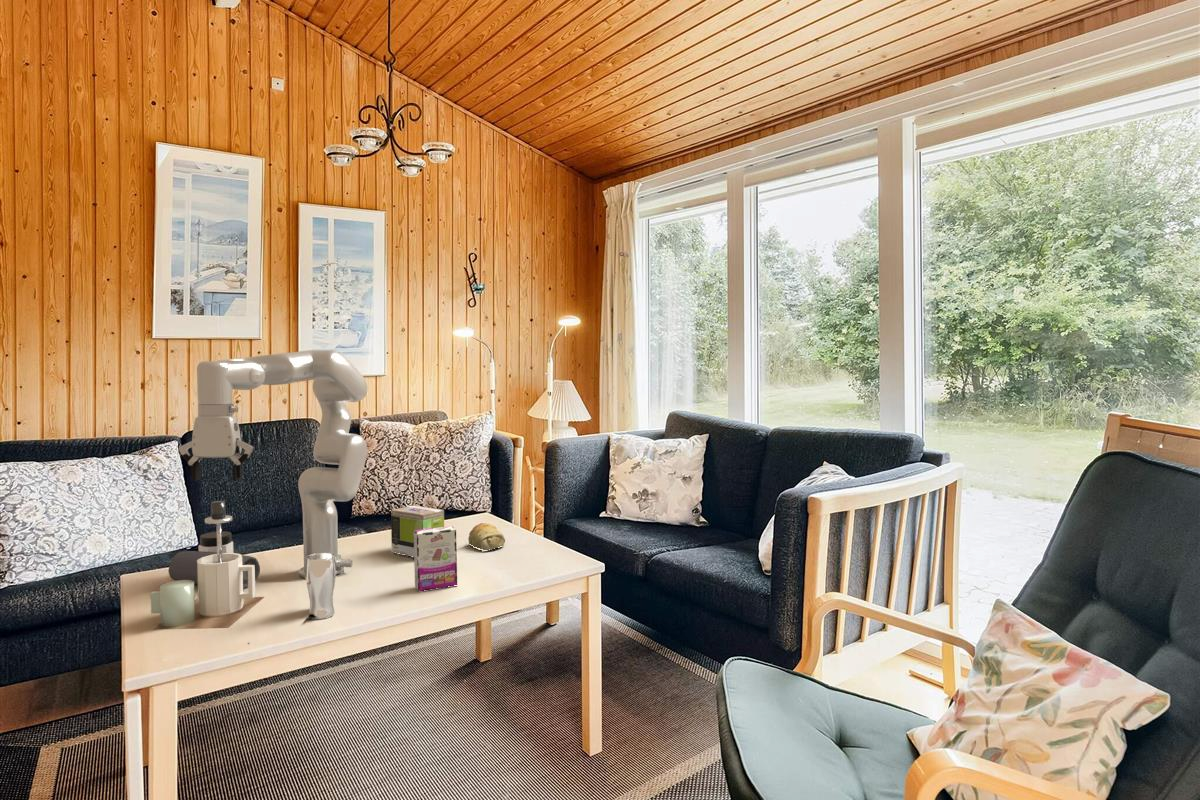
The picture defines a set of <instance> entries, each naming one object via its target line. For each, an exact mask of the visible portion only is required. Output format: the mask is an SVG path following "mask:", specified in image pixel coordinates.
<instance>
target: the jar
mask: <svg viewBox="0 0 1200 800" xmlns="http://www.w3.org/2000/svg"><path fill="white" fill-rule="evenodd" d="M221 538H222V553H234V541H233V540H232V532H230V531H226V530H225V531H222V530H221ZM198 551H205V552H217V531H211V532H207V533H203V534H200V536H199V545H198Z"/></svg>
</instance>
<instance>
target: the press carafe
mask: <svg viewBox="0 0 1200 800" xmlns="http://www.w3.org/2000/svg"><path fill="white" fill-rule="evenodd" d="M242 555H243V554H241V553H236V552H233V553H222V561H228V562H223V563H214V562H218V559H217V554H214V555H209V556H205V557H202V558H200V559H198V560H197V581H198V585H197V598H198V609H199V615H201V616H204V617H218V616H225V615H229V614H233V613H235V612H238V611H240V610H241V609H242V608H243V599H247V598H254V597H256V582H255V565H242ZM243 571H248V587H247V589H248V592H244V588H243Z"/></svg>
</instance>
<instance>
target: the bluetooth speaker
mask: <svg viewBox="0 0 1200 800" xmlns="http://www.w3.org/2000/svg"><path fill="white" fill-rule="evenodd" d="M214 554H217V552H205V551H199V550H197V551H196V550H185V551H184V550H183V551H179V552H177V553H175V555H173V556H172V559H171V560H170V563H169V567H168V576H169V577H170V579H171V580H172V581H178V580H191V581H194V586H195V585H197V586H198V581H197V560H198V559H200V558H202V557H205V556H209V555H214ZM241 555H242V565H255V583H256V582H257V580H258V578H259V576H260V573H261V567H260V563H259V560H258V559H257V558H256V557H253V556H251V555H245V554H241ZM244 588H248V571H243V589H244Z"/></svg>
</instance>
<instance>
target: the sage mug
mask: <svg viewBox="0 0 1200 800" xmlns="http://www.w3.org/2000/svg"><path fill="white" fill-rule="evenodd" d="M195 596H196V595H195V584H194V581H191V580H178V581H175V580H172V581H169V582H166V583H163V584H161V585H160V586H159V590H158V591H151V592H150V611H151V613H150V614H151V615H152V614H160V624H161V626H163V627H179V626H184V625H187V624H190V623H192V622H193V621H195V600H196V598H195Z"/></svg>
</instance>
